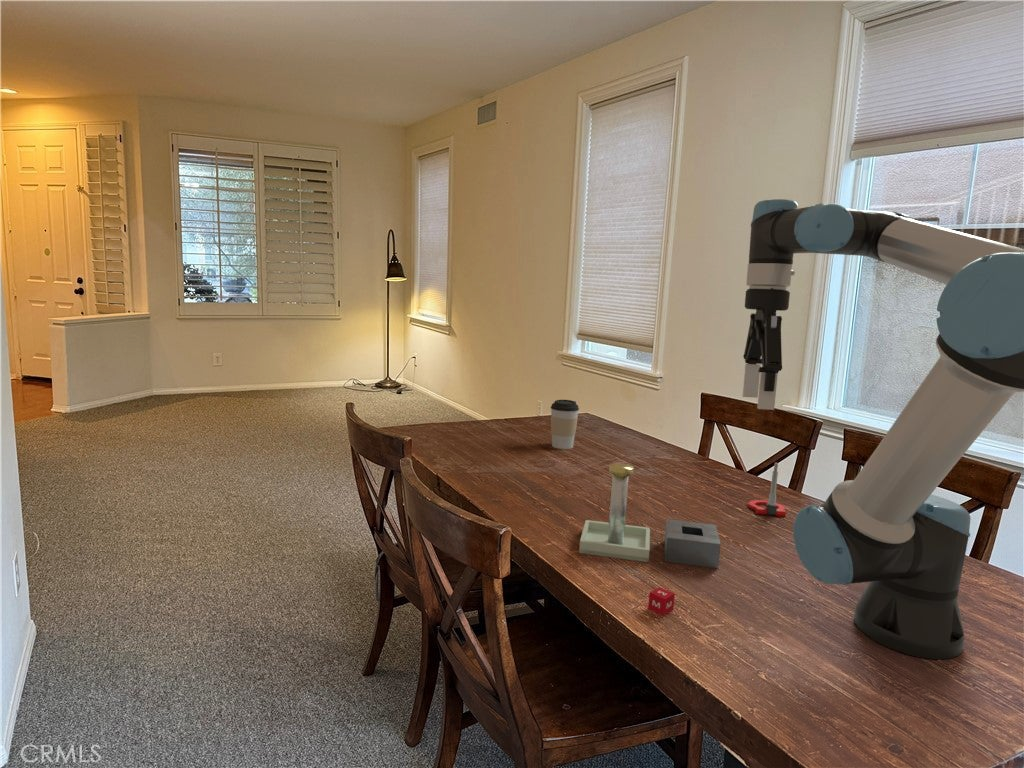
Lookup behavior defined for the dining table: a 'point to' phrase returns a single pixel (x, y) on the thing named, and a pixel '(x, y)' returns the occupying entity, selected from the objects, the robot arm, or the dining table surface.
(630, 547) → the tray
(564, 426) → the coffee cup
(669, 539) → the hitch block
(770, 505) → the tow hook
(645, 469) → the dining table surface
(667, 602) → the dice
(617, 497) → the pin
